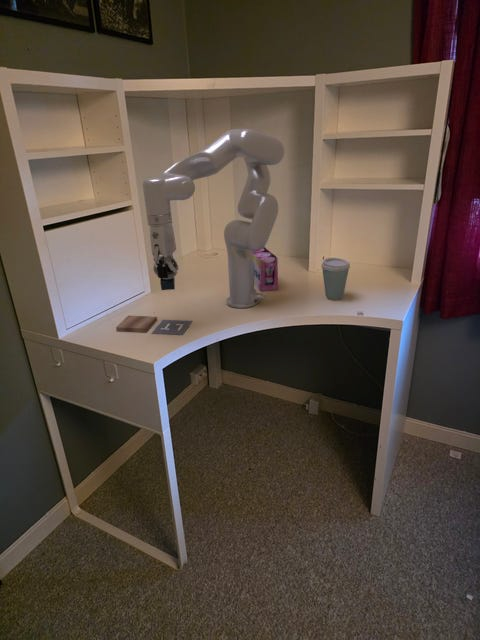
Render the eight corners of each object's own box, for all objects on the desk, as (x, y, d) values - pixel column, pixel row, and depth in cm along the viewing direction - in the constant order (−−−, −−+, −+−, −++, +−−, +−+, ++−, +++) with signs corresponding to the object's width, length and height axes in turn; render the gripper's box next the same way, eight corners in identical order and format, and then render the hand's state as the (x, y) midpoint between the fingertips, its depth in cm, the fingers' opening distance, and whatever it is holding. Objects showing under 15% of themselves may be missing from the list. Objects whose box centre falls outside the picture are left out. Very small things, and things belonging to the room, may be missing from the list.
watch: (180, 288, 142) (177, 262, 134) (156, 290, 142) (151, 264, 134) (180, 278, 146) (176, 252, 138) (156, 279, 146) (151, 253, 138)
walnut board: (157, 320, 154) (156, 316, 153) (146, 332, 145) (146, 328, 144) (129, 319, 156) (128, 315, 155) (116, 331, 147) (115, 327, 146)
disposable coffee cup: (352, 295, 168) (354, 258, 162) (342, 304, 160) (344, 266, 154) (326, 291, 173) (328, 255, 167) (315, 299, 165) (317, 262, 159)
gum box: (279, 290, 176) (279, 259, 171) (261, 293, 175) (260, 261, 169) (263, 273, 198) (263, 244, 192) (247, 275, 196) (246, 246, 191)
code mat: (192, 321, 152) (192, 320, 151) (182, 335, 142) (182, 334, 142) (163, 320, 154) (163, 319, 154) (151, 333, 144) (151, 332, 144)
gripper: (161, 225, 124) (168, 284, 132) (179, 213, 139) (185, 267, 147) (137, 225, 126) (145, 283, 133) (158, 214, 141) (164, 266, 148)
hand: (166, 274), depth 140 cm, fingers closed on watch, 5 cm apart
